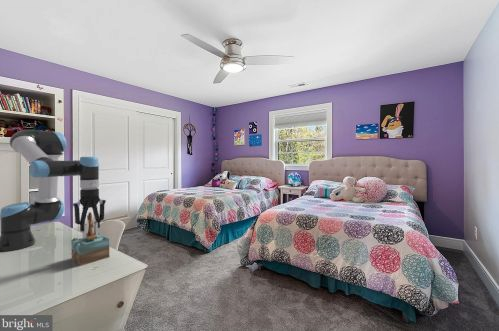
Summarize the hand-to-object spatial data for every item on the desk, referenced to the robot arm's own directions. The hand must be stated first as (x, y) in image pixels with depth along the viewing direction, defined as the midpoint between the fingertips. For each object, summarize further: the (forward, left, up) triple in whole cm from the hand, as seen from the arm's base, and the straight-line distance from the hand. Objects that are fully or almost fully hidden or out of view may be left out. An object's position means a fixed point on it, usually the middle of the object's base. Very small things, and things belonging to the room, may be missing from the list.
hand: (90, 236), depth 115 cm
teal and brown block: (0, 0, -11) cm, 11 cm away
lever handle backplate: (0, 0, -1) cm, 1 cm away
